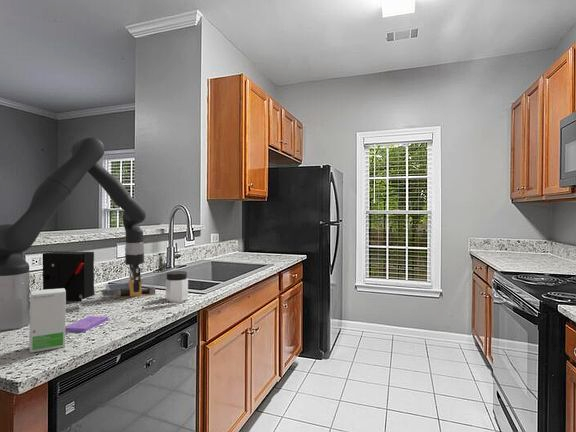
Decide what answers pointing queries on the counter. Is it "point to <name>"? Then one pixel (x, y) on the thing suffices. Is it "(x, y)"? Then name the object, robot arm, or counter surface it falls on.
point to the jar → (177, 287)
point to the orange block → (131, 288)
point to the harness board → (126, 294)
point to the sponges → (85, 324)
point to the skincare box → (47, 319)
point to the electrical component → (69, 273)
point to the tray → (116, 287)
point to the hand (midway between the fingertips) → (135, 289)
